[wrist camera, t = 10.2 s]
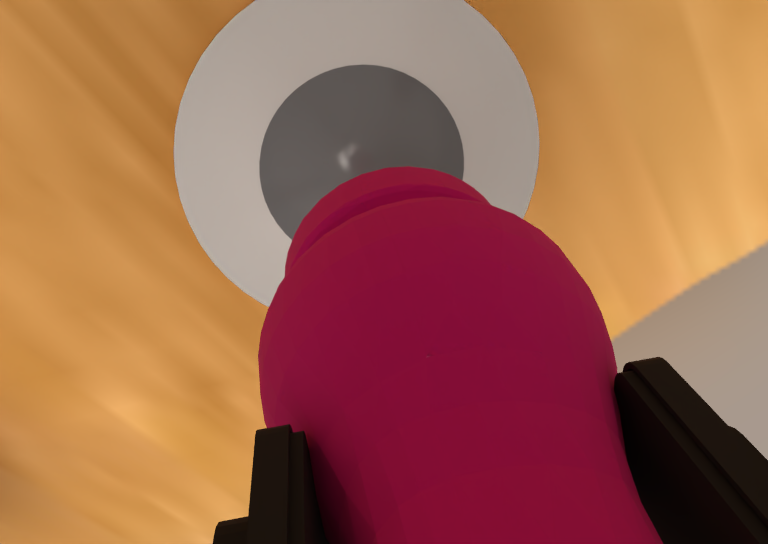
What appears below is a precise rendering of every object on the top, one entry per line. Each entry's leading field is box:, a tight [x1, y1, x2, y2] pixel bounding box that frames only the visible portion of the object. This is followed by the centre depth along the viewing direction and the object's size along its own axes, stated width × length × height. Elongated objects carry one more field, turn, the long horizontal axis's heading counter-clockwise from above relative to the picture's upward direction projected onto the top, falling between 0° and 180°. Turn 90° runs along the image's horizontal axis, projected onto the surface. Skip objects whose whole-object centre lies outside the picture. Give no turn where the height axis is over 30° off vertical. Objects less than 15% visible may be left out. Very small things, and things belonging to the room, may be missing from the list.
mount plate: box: [174, 0, 539, 307], centre depth 26 cm, size 15×15×1 cm
